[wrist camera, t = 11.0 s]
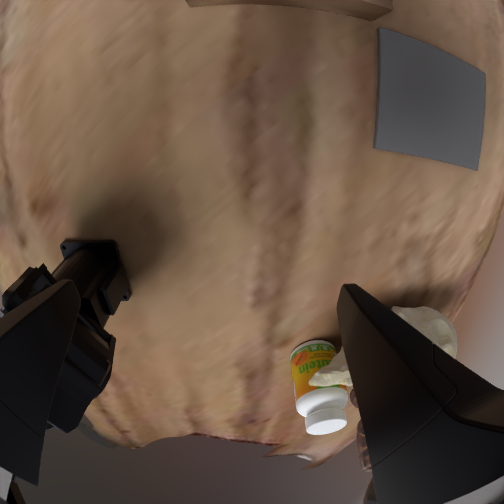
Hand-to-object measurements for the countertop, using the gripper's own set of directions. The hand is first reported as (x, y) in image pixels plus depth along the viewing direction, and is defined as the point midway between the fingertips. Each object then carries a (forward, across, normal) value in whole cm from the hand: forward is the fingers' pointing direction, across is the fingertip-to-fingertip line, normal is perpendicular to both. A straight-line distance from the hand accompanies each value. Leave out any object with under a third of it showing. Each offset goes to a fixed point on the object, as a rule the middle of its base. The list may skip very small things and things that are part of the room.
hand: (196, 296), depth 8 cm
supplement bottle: (+13, -9, +20) cm, 25 cm away
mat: (+13, -17, -8) cm, 23 cm away
